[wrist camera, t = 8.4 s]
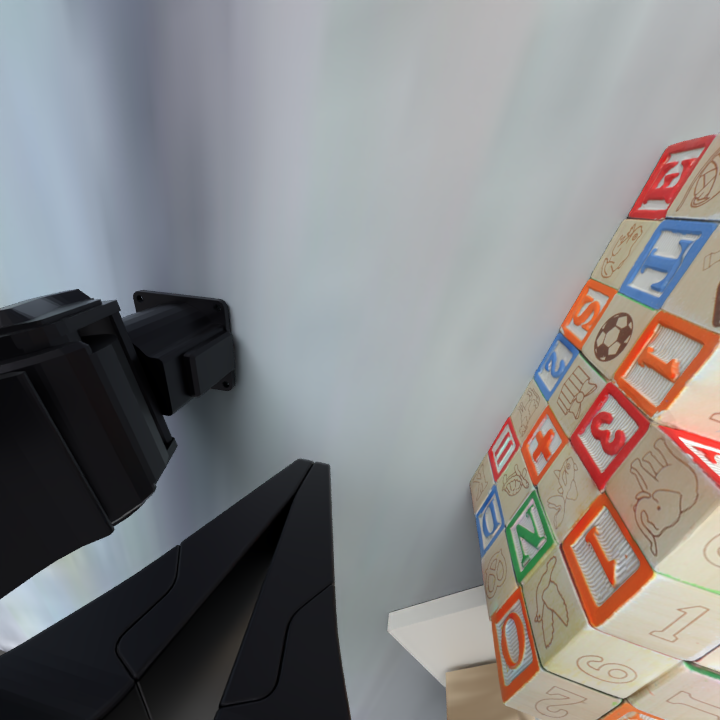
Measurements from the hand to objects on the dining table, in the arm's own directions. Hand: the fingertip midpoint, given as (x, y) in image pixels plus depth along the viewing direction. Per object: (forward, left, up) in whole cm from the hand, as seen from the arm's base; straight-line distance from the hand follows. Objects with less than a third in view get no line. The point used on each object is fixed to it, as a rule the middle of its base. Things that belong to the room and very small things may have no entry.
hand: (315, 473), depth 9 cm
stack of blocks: (+12, -1, -13) cm, 18 cm away
